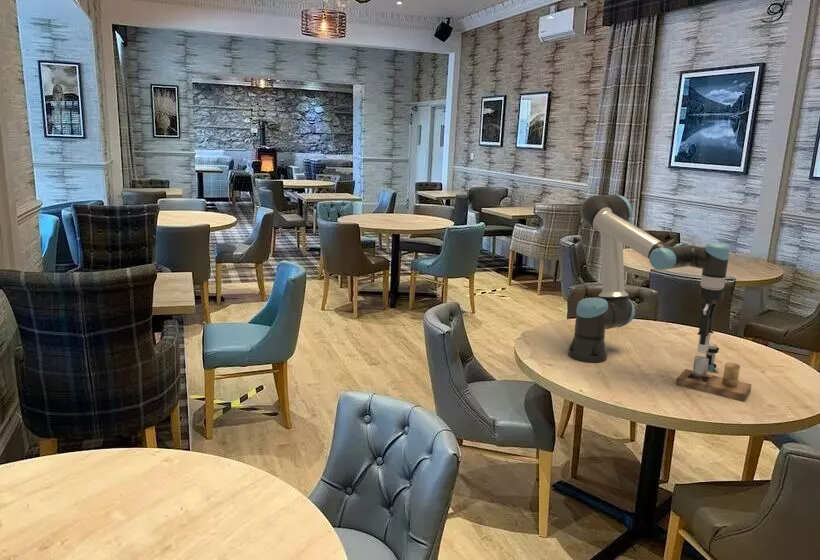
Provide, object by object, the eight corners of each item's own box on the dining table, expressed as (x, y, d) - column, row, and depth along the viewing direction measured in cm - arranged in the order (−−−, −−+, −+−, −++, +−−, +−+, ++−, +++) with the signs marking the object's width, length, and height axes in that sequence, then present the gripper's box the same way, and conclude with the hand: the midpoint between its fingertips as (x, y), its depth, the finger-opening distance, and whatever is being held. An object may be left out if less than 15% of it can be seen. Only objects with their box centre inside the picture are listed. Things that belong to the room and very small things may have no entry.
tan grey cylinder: (689, 384, 217) (693, 358, 215) (692, 380, 221) (696, 355, 218) (703, 387, 214) (707, 361, 212) (706, 384, 218) (710, 358, 216)
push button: (722, 372, 230) (725, 347, 228) (712, 373, 228) (716, 348, 226) (707, 366, 236) (710, 342, 234) (697, 367, 234) (701, 343, 232)
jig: (676, 384, 216) (679, 358, 214) (684, 375, 226) (688, 350, 223) (744, 401, 203) (748, 373, 201) (750, 391, 212) (754, 364, 210)
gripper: (719, 293, 201) (709, 359, 206) (728, 285, 213) (718, 348, 218) (695, 289, 206) (685, 354, 211) (705, 282, 218) (696, 344, 223)
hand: (702, 351), depth 215 cm, fingers open, 3 cm apart
